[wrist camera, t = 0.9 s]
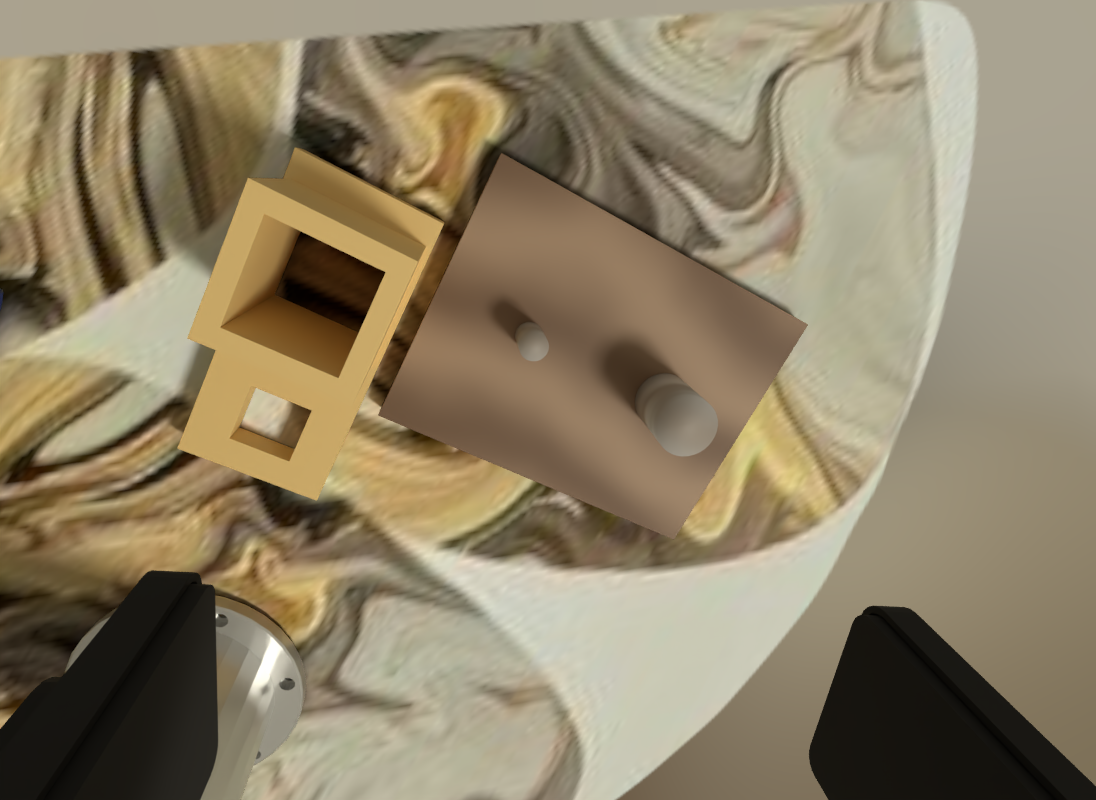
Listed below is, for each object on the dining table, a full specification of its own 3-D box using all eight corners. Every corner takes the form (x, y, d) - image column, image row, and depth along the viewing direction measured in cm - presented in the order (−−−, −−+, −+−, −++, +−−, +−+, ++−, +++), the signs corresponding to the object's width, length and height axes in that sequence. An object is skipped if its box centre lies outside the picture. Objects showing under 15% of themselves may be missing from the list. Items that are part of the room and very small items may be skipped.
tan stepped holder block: (303, 149, 29) (252, 138, 22) (444, 222, 31) (439, 233, 24) (189, 437, 33) (114, 506, 26) (322, 487, 34) (286, 565, 27)
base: (667, 528, 38) (698, 579, 33) (381, 407, 33) (367, 445, 29) (796, 320, 35) (851, 342, 30) (500, 154, 30) (507, 148, 25)
